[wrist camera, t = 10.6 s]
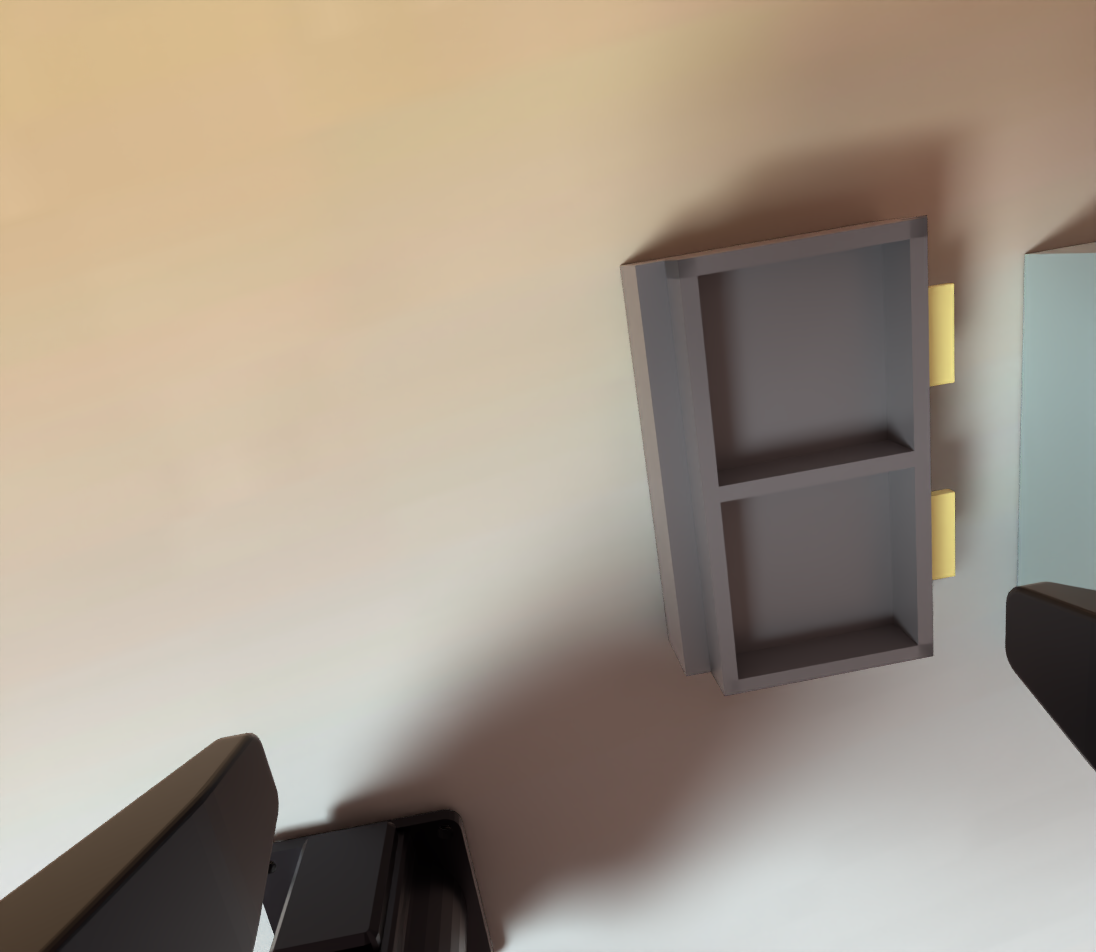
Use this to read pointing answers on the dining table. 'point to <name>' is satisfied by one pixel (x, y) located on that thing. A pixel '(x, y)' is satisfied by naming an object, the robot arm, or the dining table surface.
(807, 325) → the block
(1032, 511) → the tray
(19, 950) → the robot arm
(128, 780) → the dining table surface
